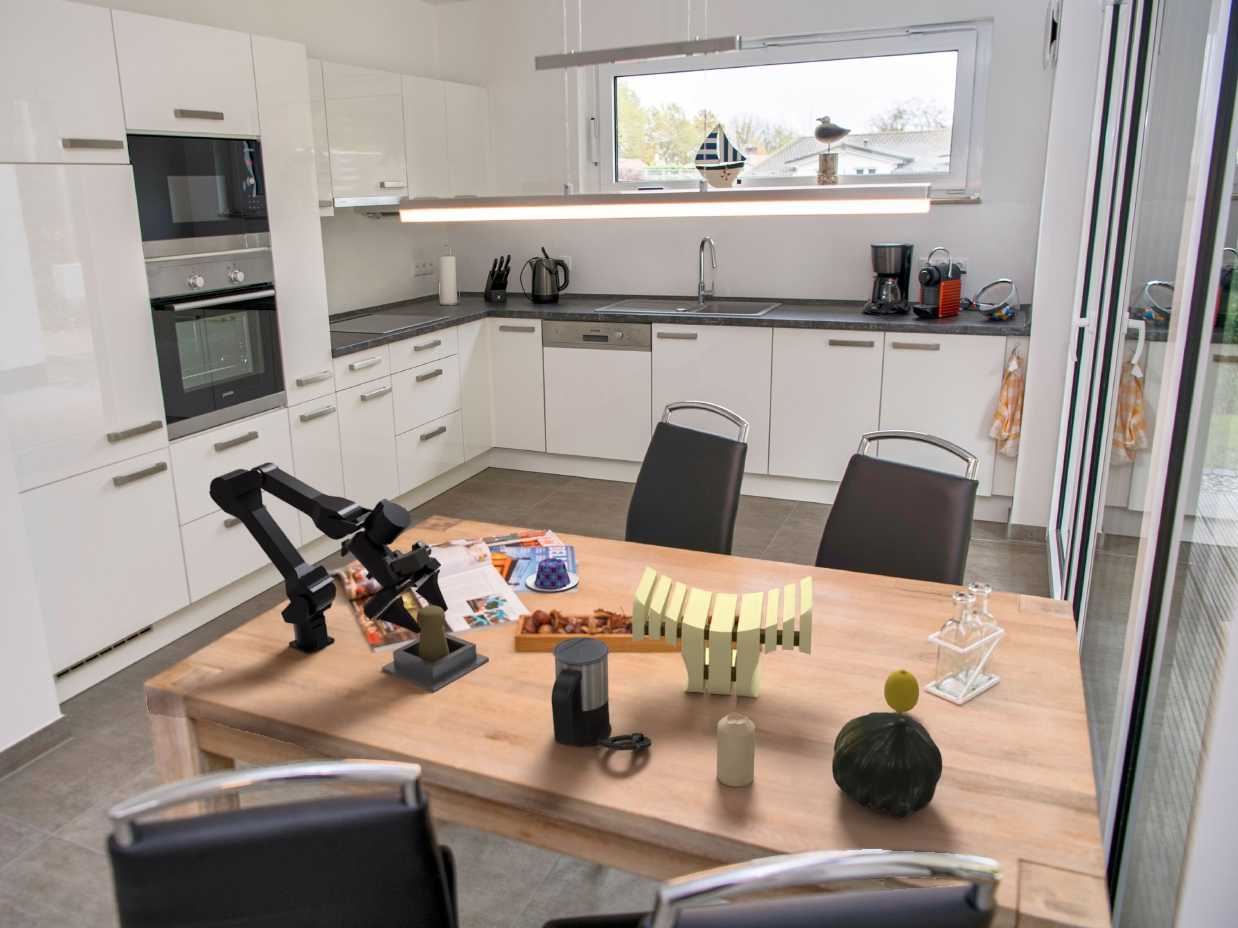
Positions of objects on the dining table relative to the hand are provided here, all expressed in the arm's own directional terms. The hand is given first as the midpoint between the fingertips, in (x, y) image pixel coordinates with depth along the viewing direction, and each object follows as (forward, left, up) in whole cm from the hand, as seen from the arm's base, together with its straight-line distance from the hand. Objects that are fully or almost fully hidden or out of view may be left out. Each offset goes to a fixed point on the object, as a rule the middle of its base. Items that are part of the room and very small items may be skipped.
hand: (433, 621), depth 168 cm
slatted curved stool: (+47, +26, -9) cm, 54 cm away
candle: (+63, +2, -9) cm, 63 cm away
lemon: (+77, +33, -9) cm, 84 cm away
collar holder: (0, 0, -9) cm, 9 cm away
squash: (+83, +10, -9) cm, 84 cm away
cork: (0, 0, -9) cm, 9 cm away
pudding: (-7, +42, -10) cm, 44 cm away
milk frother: (+41, -2, -9) cm, 42 cm away
